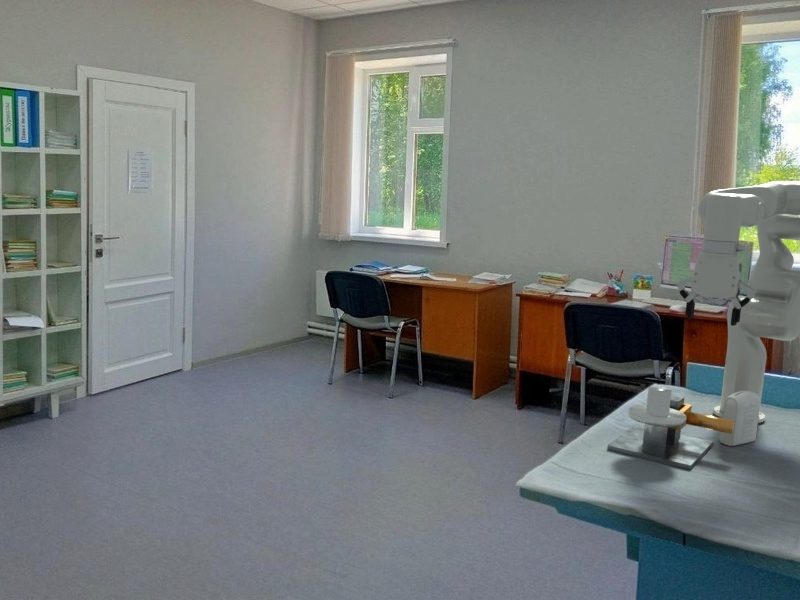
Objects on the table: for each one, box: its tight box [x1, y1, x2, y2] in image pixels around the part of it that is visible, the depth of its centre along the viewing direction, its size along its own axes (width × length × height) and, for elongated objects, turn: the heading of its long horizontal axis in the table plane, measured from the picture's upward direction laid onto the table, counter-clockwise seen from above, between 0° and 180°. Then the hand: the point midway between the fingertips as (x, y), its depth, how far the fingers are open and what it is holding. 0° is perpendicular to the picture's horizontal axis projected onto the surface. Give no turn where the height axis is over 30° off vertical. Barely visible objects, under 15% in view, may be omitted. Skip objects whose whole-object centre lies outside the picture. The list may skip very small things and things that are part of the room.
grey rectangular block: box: [666, 393, 685, 444], centre depth 174 cm, size 5×4×10 cm
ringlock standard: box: [606, 385, 734, 471], centre depth 169 cm, size 22×23×15 cm
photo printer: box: [719, 391, 761, 447], centre depth 177 cm, size 10×4×12 cm, turn 123°
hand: (711, 321), depth 175 cm, fingers open, 9 cm apart
